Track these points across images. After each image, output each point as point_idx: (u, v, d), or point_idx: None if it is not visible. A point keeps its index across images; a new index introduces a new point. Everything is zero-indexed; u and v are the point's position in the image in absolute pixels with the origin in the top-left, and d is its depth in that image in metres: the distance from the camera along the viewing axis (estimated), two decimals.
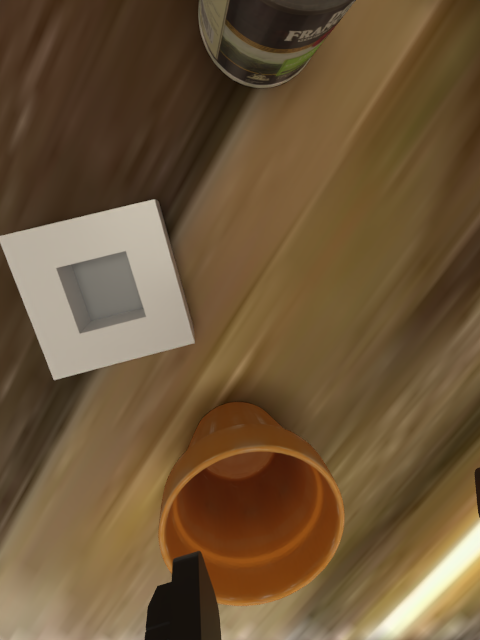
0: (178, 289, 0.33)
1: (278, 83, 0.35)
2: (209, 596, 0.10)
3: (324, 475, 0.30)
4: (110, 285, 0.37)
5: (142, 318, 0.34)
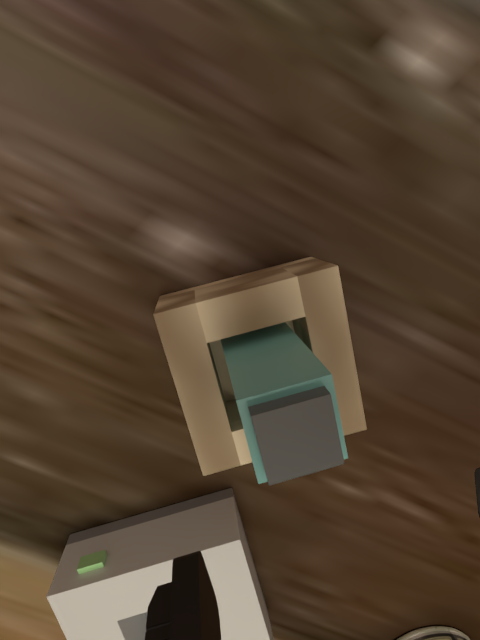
0: None
1: None
2: (209, 596, 0.10)
3: None
4: None
5: None
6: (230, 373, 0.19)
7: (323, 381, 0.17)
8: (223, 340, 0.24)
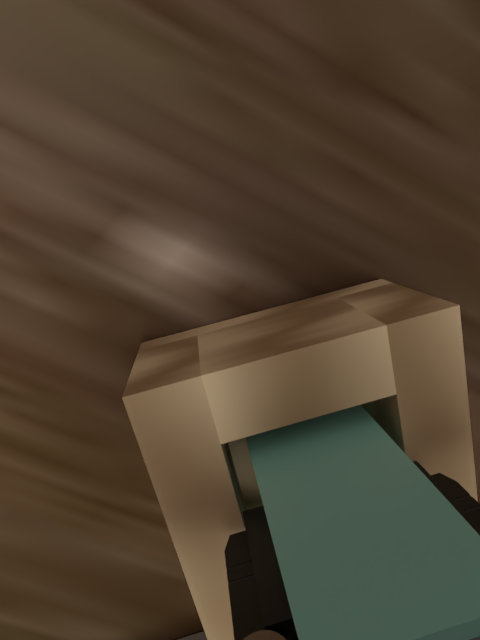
0: None
1: None
2: None
3: None
4: None
5: None
6: (274, 536, 0.09)
7: None
8: None
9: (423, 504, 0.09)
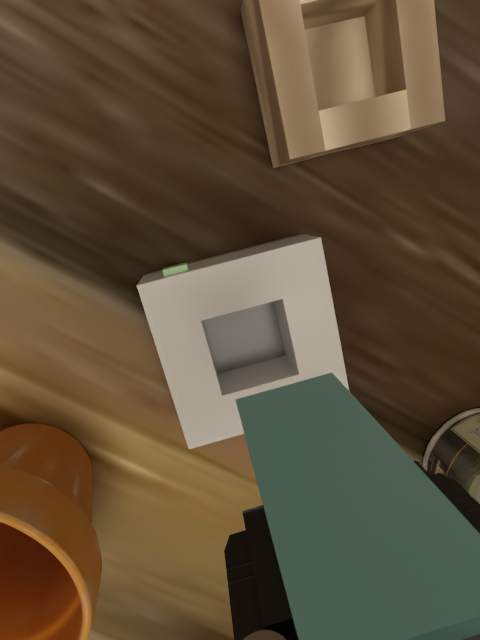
0: None
1: None
2: None
3: None
4: (242, 330, 0.31)
5: (219, 391, 0.28)
6: (273, 534, 0.09)
7: None
8: (246, 422, 0.14)
9: (423, 502, 0.09)
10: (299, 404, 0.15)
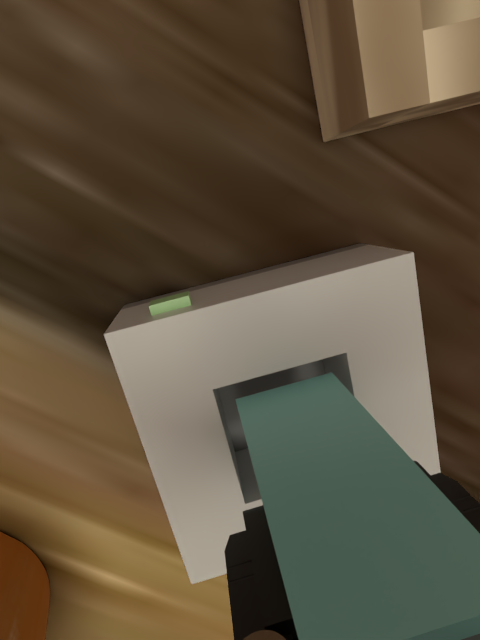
0: None
1: None
2: None
3: None
4: None
5: (241, 497, 0.17)
6: (273, 534, 0.09)
7: None
8: (246, 422, 0.14)
9: (423, 502, 0.09)
10: (299, 404, 0.15)
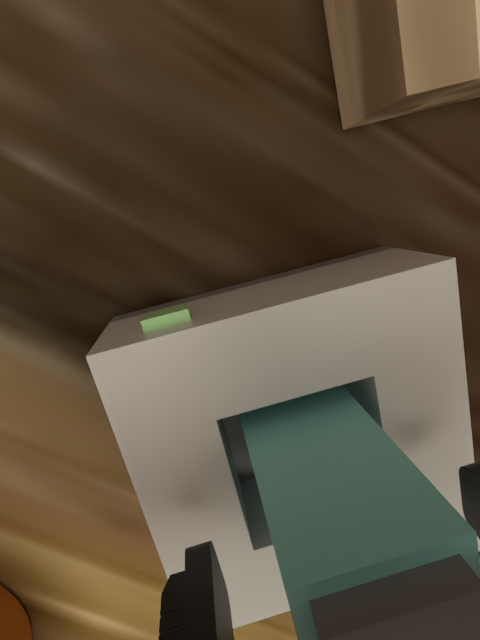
0: None
1: None
2: (221, 585, 0.11)
3: None
4: None
5: (249, 543, 0.15)
6: (262, 493, 0.11)
7: (458, 546, 0.08)
8: None
9: (391, 465, 0.11)
10: None
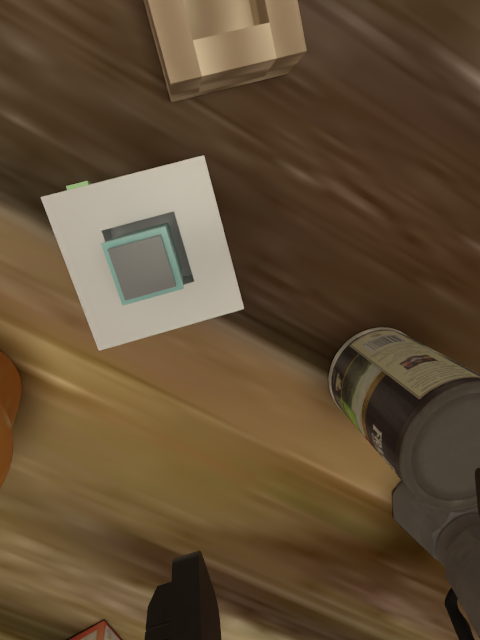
0: (157, 332, 0.33)
1: (332, 393, 0.42)
2: (209, 596, 0.10)
3: None
4: None
5: None
6: (109, 240, 0.27)
7: (160, 231, 0.25)
8: (120, 235, 0.32)
9: (158, 227, 0.27)
10: None
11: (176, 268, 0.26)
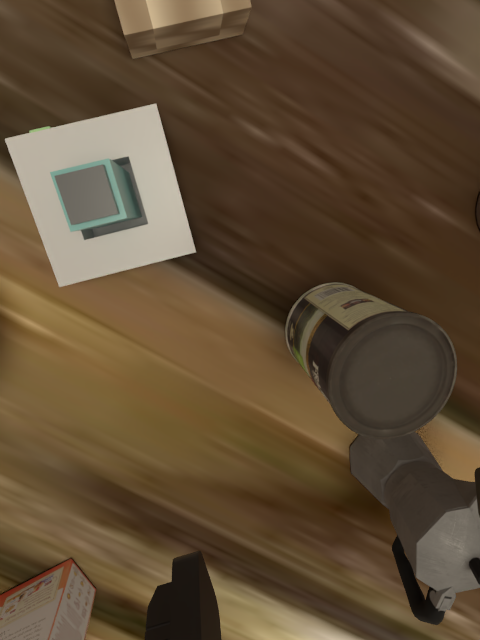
0: (114, 271, 0.35)
1: (288, 345, 0.44)
2: (209, 596, 0.10)
3: None
4: None
5: (82, 236, 0.34)
6: None
7: (104, 162, 0.28)
8: None
9: None
10: None
11: (119, 198, 0.28)
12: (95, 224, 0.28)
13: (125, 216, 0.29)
